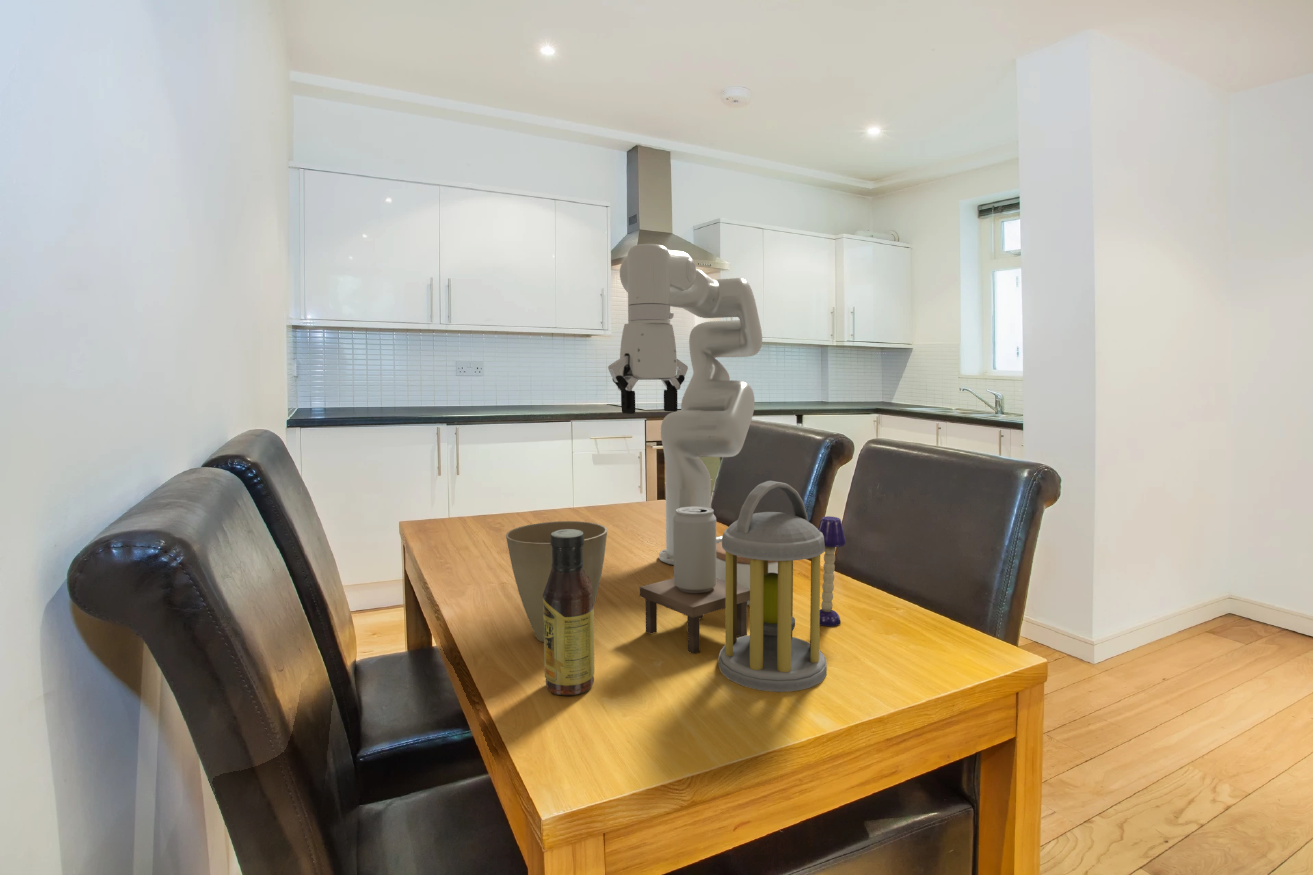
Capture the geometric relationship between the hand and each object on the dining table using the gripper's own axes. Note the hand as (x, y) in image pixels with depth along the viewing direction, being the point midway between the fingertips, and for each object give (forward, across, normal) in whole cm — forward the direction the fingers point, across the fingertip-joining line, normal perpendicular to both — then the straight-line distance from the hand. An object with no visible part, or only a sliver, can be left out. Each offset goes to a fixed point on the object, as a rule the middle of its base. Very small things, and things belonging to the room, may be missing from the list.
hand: (650, 412), depth 121 cm
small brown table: (+32, +9, +22) cm, 40 cm away
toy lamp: (+32, -10, +32) cm, 47 cm away
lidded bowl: (+32, -9, +16) cm, 37 cm away
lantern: (+32, +9, +37) cm, 50 cm away
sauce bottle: (+32, +33, +25) cm, 53 cm away
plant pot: (+32, +25, +9) cm, 42 cm away
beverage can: (+26, +9, +22) cm, 35 cm away
